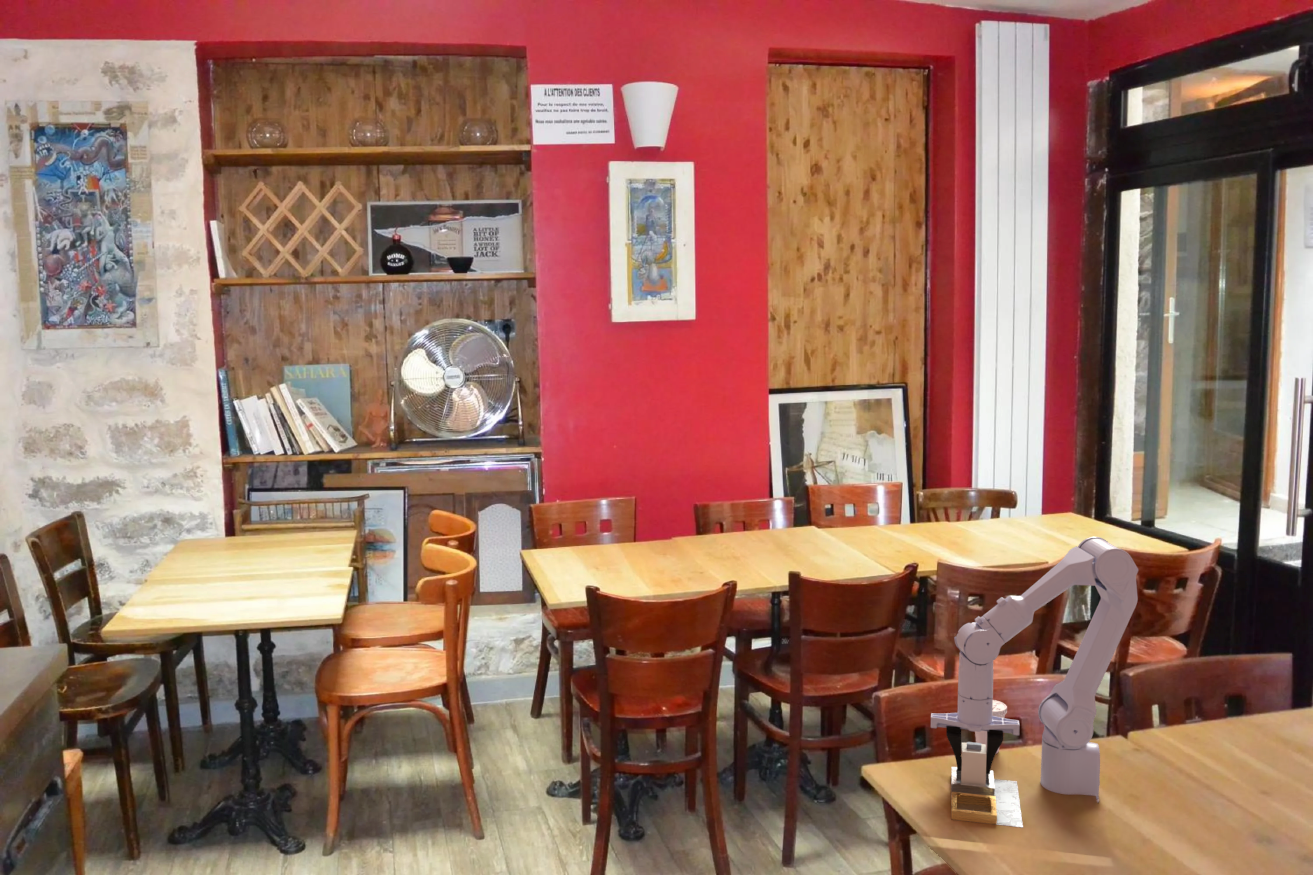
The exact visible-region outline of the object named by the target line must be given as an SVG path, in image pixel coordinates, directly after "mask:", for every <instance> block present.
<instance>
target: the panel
mask: <svg viewBox="0 0 1313 875" xmlns="http://www.w3.org/2000/svg"><path fill="white" fill-rule="evenodd" d="M994 774H995V773H994V770H990V774H986V785H978V784H968V783H961V771H957V766H951V778H950V779H951V786H950V787H951V789H950V790H951V797H950V800H951V806H950V807H951V808H950V809H951V810H950V813H951V816H950V817H951V821H960V822H961V821H962V822H971V823H978V824H987V825H997V826H1004V827H1005V826H1006V827H1016V828H1024V824H1023V819H1022V818H1023V817H1022V810H1021V801H1020V794H1019V785H1018V781H1017V780H1009V779H1008V780H1006V779H997V778H994V776H995V775H994Z"/></svg>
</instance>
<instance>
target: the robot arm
mask: <svg viewBox="0 0 1313 875" xmlns="http://www.w3.org/2000/svg"><path fill="white" fill-rule="evenodd" d="M1138 573H1139V567H1138V566H1137V565H1136V563H1135V561H1134V559H1133V558H1132V556H1131V554H1129V553H1128V552H1127V551H1126V550H1124V549H1122V548H1118V547H1117V546H1115V545H1113V544H1111V543H1110V542H1109V541H1108V540H1106V539H1105V538H1102V537H1100V536H1090V537H1087V538H1085V539H1083V540H1082V541H1081V542H1080V543H1079V544H1078V545H1077V546H1074V547H1072V548H1071V549H1069V550H1068V551H1067V553H1066V554H1065V555H1064V557H1063V558H1062V559H1061V560H1060V561H1059V562H1058V563H1057V564H1055V565H1054V566H1053V567H1052V568H1050V570H1049V571H1047V572H1046V573H1045V574H1044V575H1043V576H1042V577H1041V578H1039V579H1037V581H1036V582H1035V583H1033V585H1031V586H1030V587H1029V588H1028V589H1026V590H1025V591H1024V592H1023V593H1022V594H1020V595H1007V596H1006V597H1002V596H1001V597H999V598H998V599H997V600H996V603H997V604H995V605H994V606H993V607H992V608H991V609H990V610H988V611H987V612H986V613H984V614H983V615H982V616H979V615H978V616H977V617H976V618H974V622H972V621H971V622H967V623H965V624H963V625H962V626H961V627H960V628H959V629H958V631H957V634H956V636H954V637H953V638H954V644H955V646H956V648H957V649H958V650H959V654H958V655H959V656H958V657H959V662H958V674H957V675H958V676H957V677H958V679H957V680H958V681H957V712H950V713H949V712H947V713H945V712H944V713H932V712H931V713H930V728H931V729H937V728H943V729H944V728H945V729H946V738H947V740H948V743H949V745H950V747H951V749H952V751H953V754H954V758H955V761H956V767H957V771H961V768H962V760H961V756H962V730H968V731H969V732H975V731H976V732H981V731H987V752H986V774H990V771H991V768H992V765H993V762H994V759H995V756H996V752H997V750H998V749H999V750H1000V747H1001V746H1002V743H1003V741H1004V733H1005V734H1012V736H1020V726H1021V725H1020V720H1018V719H1010V718H1005V717H1004V718H1001V717H996V716H992V707H993V700H994V661H995V660H996V659H998V658H997V657H998V656H999V654H1000V651H1001V648H1002V646H1003V645H1005V643H1007V642H1009V641H1010V640H1012V638H1014V637H1015V636H1016V635H1018V634H1019V633H1020V632H1022V631H1023V630H1025V629H1026V628H1027V627H1028V626H1030V625H1032V623H1033V620H1034V614H1035V612H1036V611H1038V610H1039V609H1041V608H1042V607H1044V606H1045V605H1047V603H1050V602H1051V601H1052V600H1054V599H1055V598H1057V597H1058V596H1059V595H1061V594H1062V593H1064V592H1065V591H1067V590H1069V589H1070V588H1072V587H1073V586H1092V587H1094V586H1095V588H1096V591H1097V593H1098V594H1099V596H1100V599H1099V602H1098V605H1097V606H1096V608H1095V611H1094V613H1093V616H1092V618H1091V620H1090V623H1089V624H1088V627H1087V629H1086V631H1085V633H1084V635H1083V637H1082V640H1081V641H1080V644H1079V646H1078V648H1077V651H1076V653H1075V655H1074V658H1073V659H1072V662H1071V664H1070V666H1069V669H1068V671H1067V673H1066V675H1065V678H1064V679H1063V680H1062V681H1061V682H1058V683H1056V684H1055V685H1054V686H1053V687H1052V690H1051V692H1050V693H1049V694H1048V695H1047V696H1046V697H1044V698H1043V699H1042V700H1041V702H1040V704H1039V705H1038V709H1037V715H1038V718H1039V720H1040V722H1041V723H1042V725H1044V726H1043V727H1044V728H1043V732H1042V736H1041V737H1042V738H1041V755H1040V756H1041V759H1040V761H1041V762H1040V782H1039V783H1040V785H1041V786H1042V787H1043V788H1044V789H1046V790H1048V791H1050V792H1052V793H1056V794H1062V795H1085V796H1094V797H1095V799H1096V802H1097V803H1098V804H1099V802H1100V799H1099V798H1100V796H1099V795H1100V786H1101V781H1100V778H1101V777H1100V776H1101V774H1100V773H1101V770H1100V769H1101V753H1100V746H1099V744H1098V742H1097V743H1096V742H1090V741H1091V739H1092V738H1093V735H1094V721H1095V719H1096V718H1095V717H1096V716H1097V706H1096V694H1097V692H1098V690H1099V688H1100V685H1101V683H1102V681H1103V679H1104V678H1105V675H1106V672H1107V670H1108V668H1109V666H1110V663H1111V661H1112V659H1113V657H1114V655H1115V652H1116V651H1117V648H1118V646H1119V644H1120V642H1121V640H1122V637H1123V635H1124V633H1125V632H1126V629H1127V626H1128V624H1129V622H1130V619H1131V617H1132V616H1133V613H1134V611H1135V609H1136V607H1137V603H1138V600H1139V599H1138V598H1139V597H1138V586H1137V585H1138V584H1137V574H1138Z"/></svg>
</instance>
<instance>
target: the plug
mask: <svg viewBox="0 0 1313 875" xmlns="http://www.w3.org/2000/svg"><path fill="white" fill-rule="evenodd" d="M961 760H962V768H961V783H968V784H978V785H986V744H981V743H976V742H972V741H966V742H962V741H961Z"/></svg>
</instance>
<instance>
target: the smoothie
mask: <svg viewBox="0 0 1313 875" xmlns="http://www.w3.org/2000/svg"><path fill="white" fill-rule="evenodd" d="M1007 713H1008V705H1007V704H1005V703H1004V702H1002V701H999V700H996V699H993V707H992V716H996V717H1001V718H1005V717H1006V714H1007ZM974 733H975V734H974V736H975V743H981V744H986V752H987V731H981V732H976V731H974ZM999 752H1000V748H999V749H998V750H997V752H996V754H999ZM996 754H995V755H996Z"/></svg>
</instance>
